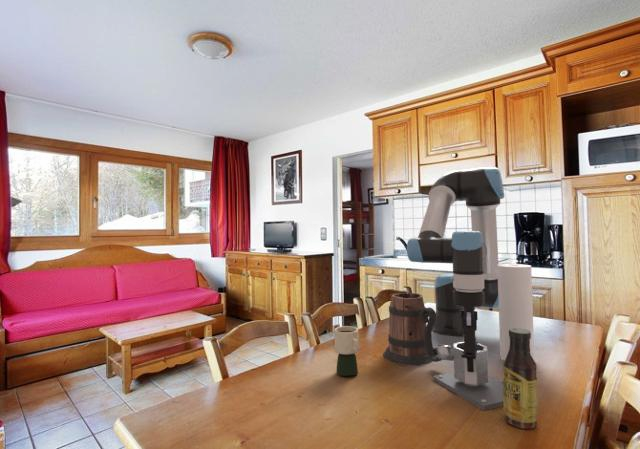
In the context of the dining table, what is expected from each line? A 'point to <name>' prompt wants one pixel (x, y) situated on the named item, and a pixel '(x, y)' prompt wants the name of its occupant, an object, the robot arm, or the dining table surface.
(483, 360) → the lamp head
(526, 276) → the cylinder container
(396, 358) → the tankard
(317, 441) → the dining table surface
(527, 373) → the sauce bottle
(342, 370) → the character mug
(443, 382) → the grey peg base plate
